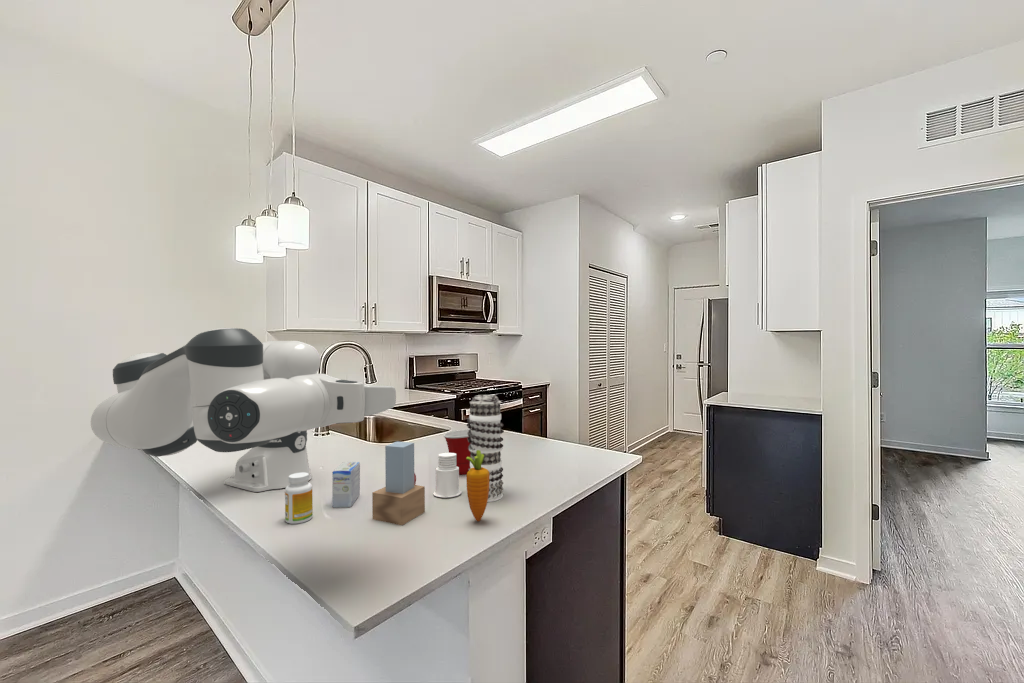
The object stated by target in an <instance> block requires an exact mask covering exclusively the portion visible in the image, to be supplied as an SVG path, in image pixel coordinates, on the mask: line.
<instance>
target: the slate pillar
mask: <svg viewBox="0 0 1024 683" xmlns="http://www.w3.org/2000/svg"><path fill="white" fill-rule="evenodd" d="M384 449H385V451H384V452H385V456H384V458H385V462H384V463H385V487H386V492H393V493H402V494H404V493H406V492H407V491H409V490H411V489H412V488H414V473H415V442H410V441H409V442H408V441H407V442H406V441H394V442H392V443H389V444H387V445H385V447H384Z"/></svg>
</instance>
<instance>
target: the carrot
mask: <svg viewBox="0 0 1024 683" xmlns="http://www.w3.org/2000/svg"><path fill="white" fill-rule="evenodd" d="M476 453H477V456H475V457H474V458H475V460H474V461H473V459H472V458H470V457H467V458H466V459H467V460H469V461H470V462H471V463H472V464H473V466H474V468H471V469H470V470H469V471H468V472H467V474H466V477H465V478H466V494H467V499H468V504H469V509H470V511H471V514H472V516H473V517H474V519H475V521H476V522H477V523H479V522H480V521H482V518H483V516H484V514H485V511H486V509H487V505H488V502H487V501H488V494H489V471H488V470H487V469H485V468H483V467H481V464H482V462H483V459H484V455H483V454H481V451H480V450H477V451H476Z"/></svg>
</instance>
